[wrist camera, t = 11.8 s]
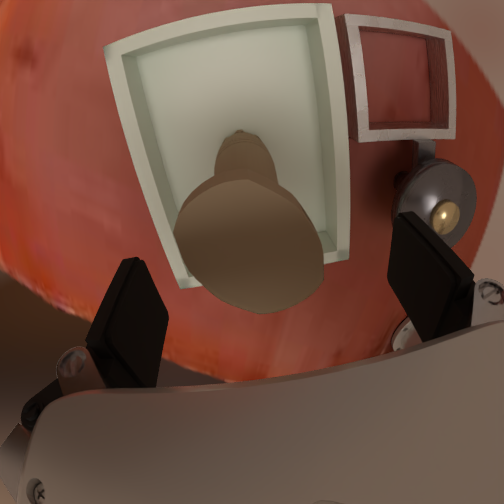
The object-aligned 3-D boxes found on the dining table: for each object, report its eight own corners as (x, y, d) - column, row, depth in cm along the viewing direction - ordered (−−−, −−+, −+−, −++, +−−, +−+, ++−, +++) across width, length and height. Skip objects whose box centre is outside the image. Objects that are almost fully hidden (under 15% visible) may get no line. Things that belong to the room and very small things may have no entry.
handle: (243, 100, 20) (259, 152, 8) (287, 160, 24) (344, 278, 12) (195, 134, 22) (147, 234, 10) (241, 190, 25) (250, 326, 13)
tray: (334, 234, 30) (348, 259, 26) (185, 260, 30) (180, 289, 27) (313, 14, 17) (331, 3, 13) (123, 50, 18) (102, 46, 14)
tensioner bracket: (430, 213, 29) (469, 253, 22) (347, 227, 29) (378, 276, 23) (431, 31, 17) (488, 32, 10) (331, 19, 17) (374, 1, 11)
